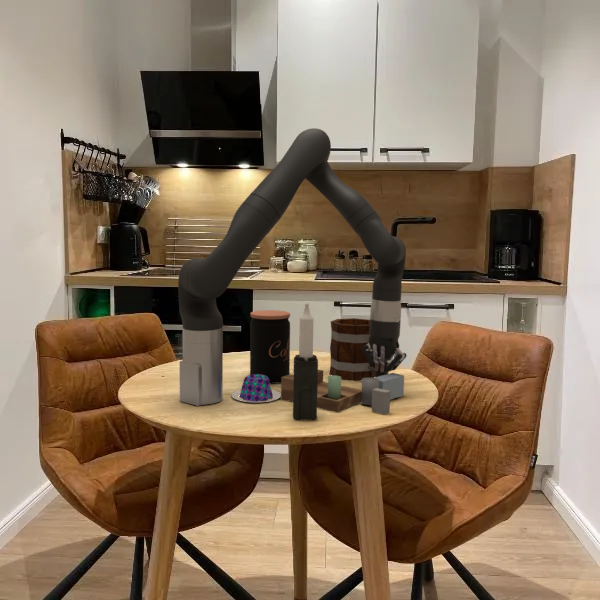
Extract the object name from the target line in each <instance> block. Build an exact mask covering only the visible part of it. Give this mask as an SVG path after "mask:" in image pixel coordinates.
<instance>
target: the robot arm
mask: <svg viewBox="0 0 600 600" xmlns="http://www.w3.org/2000/svg"><path fill="white" fill-rule="evenodd" d="M331 151H332V146H331V139H330V136H329V135H328V133H326V132H325V131H324V130H322V129H321V128H317V127H315V128H314V127H313V128H307V129H305V130H303V131H302V132H300V133H299V134H298V135H297V136H296V138H295V139H294V140H293V142H292V144H291V145H290V147H289V148H288V150H287V151H286V153H284V156H283V157H282V158H281V159H280V161H279V162H278V164H277V165H276V166H275V167H273V168H272V170H270V172H269V173H268V174H267V175H266V177H265V176H264V178H263V179H262V181H260V183H259V184H258V185H257V187H255V188H254V189H253V190H252V191H251V193H249V195H248V196H247V197H246V199H244V201H243V202H242V203H241V204H240V205H239V206H238V207H237V210H235V213H234V215H233V217H232V219H231V223H230V225H229V227H228V229H227V230H228V231H227V232H226V234H225V236H224V238H223V239H222V240H221V242H220V243H219V244H218V245H217V246H216V247H215V248H214V250H213V251H211V253H209V254H208V255H207V256H206V257H205V258H202V257H196V258H195V257H193V258H191V259H188V260H186V261H185V263H184V264H183V265H182V266H181V268H180V270H179V273H178V284H177V285H178V287H177V288H178V306H179V315H180V318H181V322H182V360H180V361H179V401H180V402H182V403H187V404H190V405H193V406H197V407H199V406H202V405H203V406H204V405H205V406H206V405H211V404H217V403H219V402H221V401H222V400H223V399H224V398H223V397H224V395H223V393H224V392H223V387H224V385H223V381H224V380H223V378H224V377H223V374H224V373H223V372H224V371H223V363H224V362H223V359H224V358H223V354H224V353H223V347H224V345H223V344H224V343H223V342H224V341H223V337H224V336H223V334H224V332H223V331H224V330H223V329H224V322H223V316H222V314H221V312H220V311H219V309H218V305H217V299H218V298H219V297H220V296H221V295H223V294H224V293H225V291H226V290H227V289H228V287H229V285H231V283H232V281H233V280H234V278H235V276H236V275H237V273H238V272H239V270H240V269H241V268H242V267H243V264H244V263H245V262H246V260H247V259H248V257H250V255H251V254H252V253H253V252H254V251H255V249H257V248H258V246H259V245H260V244H261V242H262V241H263V240H264V239H265V237H266V236H268V234H269V233H270V232H271V231H272V229H273V228H274V227H275V225H277V223H278V222H279V221H280V220H281V218H282V217H283V216H284V214H285V212H286V211H287V210H288V208H289V206H290V205H291V202H292V201H293V199H294V197H295V195H296V193H297V191H298V189H299V188H300V186H301V184H302V183H303V182H304V180H306V181H308V182H309V183H310V184H311V185H312V186H313V187H315V189H317V191H318V192H319V193H320V194H321V195H322V196H324V197H325V199H327V201H329V202H330V204H332V206H333V207H334V208H335V209H336V210H337V211H338V213H339V214H340V215H341V216H342V218H343V219H344V220H345V222H347V223H348V226H350V227H351V228H352V230H353V231H354V232H355V233H356V234H357V236H358V237H359V239H360V240H361V243H362V244H363V246H364V247H365V248H366V251H367V252H368V253H369V255H370V257H371V258H372V259H373V260H374V262H376V263H377V271H376V275H375V277H374V278H373V282H372V292H371V293H372V295H371V304H370V311H369V312H370V313H369V314H370V315H369V320H370V328H369V335H370V336H371V337H370V339H369V343H368V344H367V345H364V346H362V347H361V349H362V351H363V353H364V355H365V357H366V359H367V361H368V363H369V365H370V367H373V368H375V370H376V377H379V376H382V375H386V374H389V373H390V372H392V371H395V370H396V369H398V367H399V366H400V365H401V364H402V362H403V361H405V359H406V358H407V353H406V352H402V350H401V349H400V344H399V338H400V336H401V335H400V334H401V324H402V323H401V321H402V319H401V318H402V305H401V304H402V301H401V300H402V287H403V286H402V281H403V276H404V271H405V270H404V269H405V265H406V257H407V248H406V247H407V246H406V245H405V242H404V241H403V240H402V239H401V238H400V237H398V236H393V235H392V234H391V233H390V232H389V231H388V229H387V228H386V227H385V226H384V224H383V219H382V218H381V217H380V215H379V213H378V212H377V211H376V210H375V209H374V207H373V206H372V205H371V204H370V202H369V201H368V199H366V198H365V197H364V196H363V195H362V194H361V193H359V192H358V191H357V190H355V189H353V188H352V187H350V186H349V185H347V184H346V183H345V182H344V181H343V180H341V179H340V177H338V175H337V174H336V173H335V172H334V170H333V168H332V166H331V165H330V164H329V162H328V161H329V158H330V154H331Z"/></svg>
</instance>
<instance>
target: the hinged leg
mask: <svg viewBox="0 0 600 600" xmlns="http://www.w3.org/2000/svg"><path fill="white" fill-rule="evenodd" d="M375 388H379V389H385V390H390V401H391V400H393V399H396V398H400V397H403V396H404V395H405V394H404V391H405V375H403V374H399V373H396V372H389V373H388V374H386V375H382V376H379V377H375V378H363V379H362V381H361V390H362V393H361V402H360V403H361V404H363V405H366V406H372V390H373V389H375Z"/></svg>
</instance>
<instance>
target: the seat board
mask: <svg viewBox="0 0 600 600" xmlns="http://www.w3.org/2000/svg"><path fill="white" fill-rule="evenodd" d="M293 378H294V374H291V373H290V374H289V375H287V376H283V377H281V382H280V393H281V397H280V400H281V401H282V400H283V401H286V402H292V403H293ZM361 393H362V388H356V387H351V386H346V385H342V384H341V399H338V400H334V399H329V398H328V381H327V382H325V381H324V370H323V369H318V389H317V409H320V410H321V409H322V410H326V411H331V412H333V411H334V412H333V413H340V412H342V411H344V410H346V409H348V408H351V407H353V406H355V405H357V404H360V403H361Z"/></svg>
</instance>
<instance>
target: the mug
mask: <svg viewBox="0 0 600 600" xmlns="http://www.w3.org/2000/svg"><path fill="white" fill-rule="evenodd" d="M330 328H331V330H330V331H331V335H330V347H329V352H330V353H329V354H330V355H329V356H330V364H329V365H330V367H329V376H331V375H336V376H340V377H341V380H344V381H351V382H359V381H360V380H362V379H363V378H374V377H376V370H375V368H373V367H370V365H369V363H368V361H367V359H366V357H365V355H364V353H363V351H362V349H361V347H362V346H364V345H367V344H368V343H369V339H370V337H371V336H370V335H369V328H370V319H366V318H355V317H354V318H353V317H351V318H336V319H333V320H330Z"/></svg>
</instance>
